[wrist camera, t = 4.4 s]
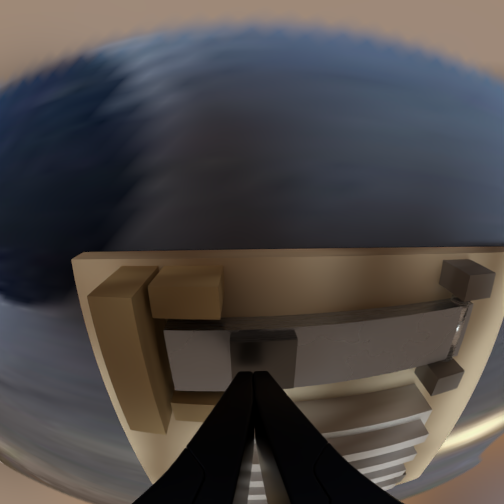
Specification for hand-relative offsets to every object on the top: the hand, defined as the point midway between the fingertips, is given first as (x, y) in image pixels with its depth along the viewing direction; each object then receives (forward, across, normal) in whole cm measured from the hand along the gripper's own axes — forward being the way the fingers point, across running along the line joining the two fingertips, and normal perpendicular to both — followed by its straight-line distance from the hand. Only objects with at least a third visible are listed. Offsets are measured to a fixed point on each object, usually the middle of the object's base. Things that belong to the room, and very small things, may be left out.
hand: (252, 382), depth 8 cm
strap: (+2, -3, 0) cm, 4 cm away
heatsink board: (+4, -3, +6) cm, 8 cm away
